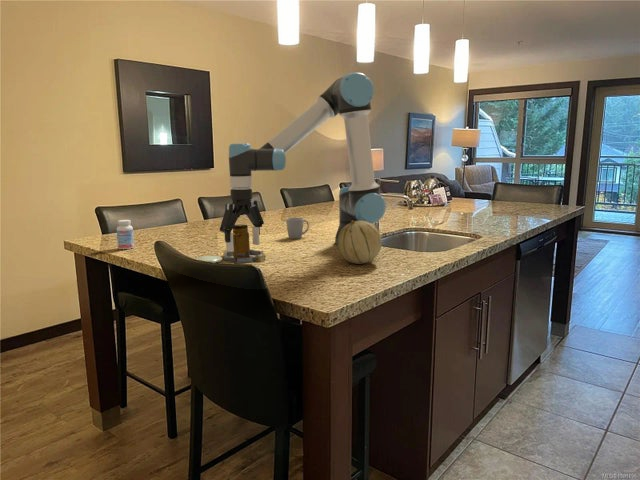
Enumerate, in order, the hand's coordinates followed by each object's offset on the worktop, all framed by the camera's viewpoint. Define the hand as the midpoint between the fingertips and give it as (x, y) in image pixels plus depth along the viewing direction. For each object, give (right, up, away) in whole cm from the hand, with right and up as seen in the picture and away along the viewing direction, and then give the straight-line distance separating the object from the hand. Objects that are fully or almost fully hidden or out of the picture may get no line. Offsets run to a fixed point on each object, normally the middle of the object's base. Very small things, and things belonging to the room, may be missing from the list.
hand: (243, 247), depth 171 cm
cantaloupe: (+41, -5, -8) cm, 42 cm away
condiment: (0, -4, +1) cm, 4 cm away
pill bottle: (-50, -1, +19) cm, 54 cm away
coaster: (-12, -4, -3) cm, 13 cm away
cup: (+18, +4, +39) cm, 43 cm away
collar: (0, -4, +1) cm, 4 cm away
